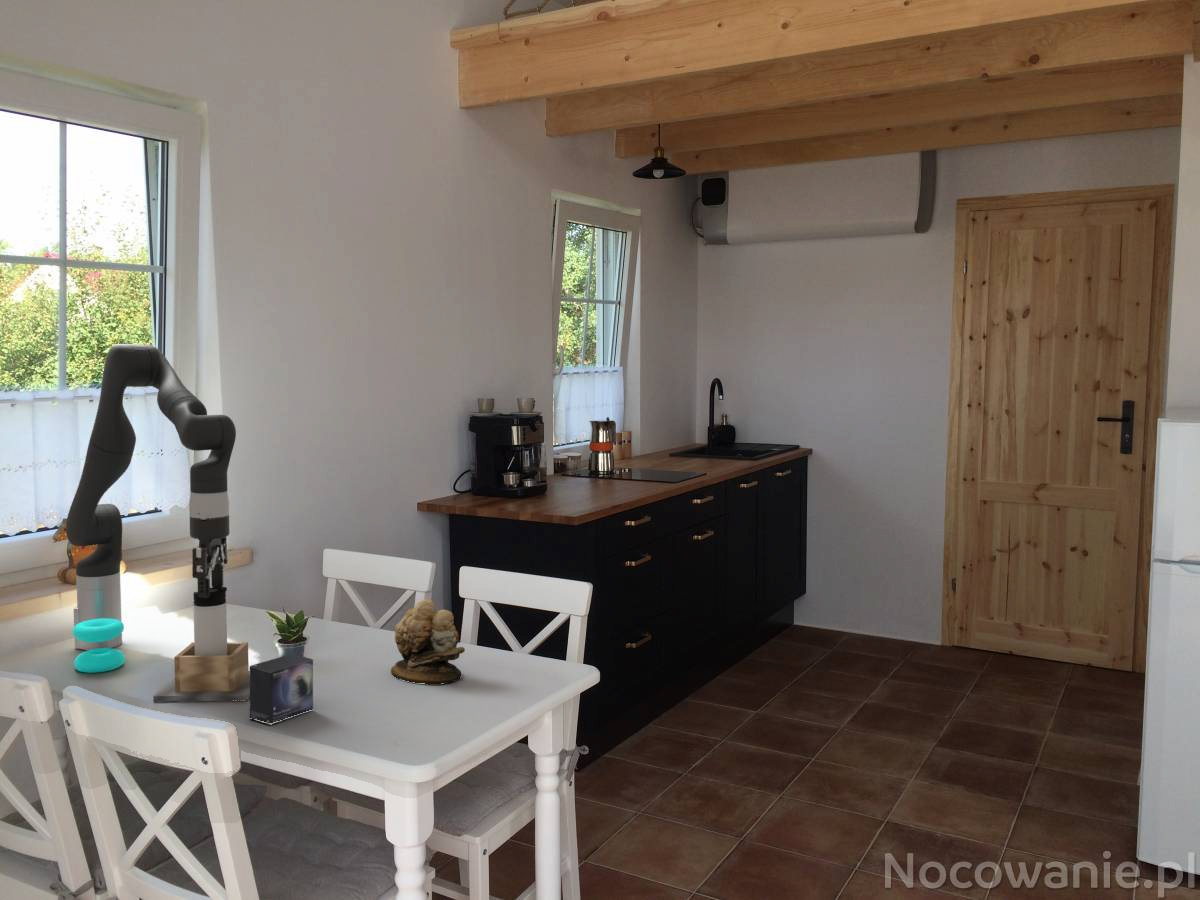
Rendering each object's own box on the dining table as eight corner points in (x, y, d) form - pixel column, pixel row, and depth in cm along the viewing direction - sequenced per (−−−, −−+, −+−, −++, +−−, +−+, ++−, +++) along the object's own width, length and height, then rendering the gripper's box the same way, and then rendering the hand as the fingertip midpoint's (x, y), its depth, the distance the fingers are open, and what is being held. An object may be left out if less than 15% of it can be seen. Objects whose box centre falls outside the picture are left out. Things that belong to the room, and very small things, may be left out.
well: (153, 702, 200) (152, 661, 200) (181, 676, 216) (181, 638, 216) (246, 701, 201) (245, 660, 201) (267, 676, 217) (267, 638, 217)
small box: (271, 727, 188) (270, 671, 187) (248, 720, 191) (246, 665, 190) (315, 710, 197) (314, 657, 196) (292, 704, 200) (291, 652, 199)
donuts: (86, 616, 226) (131, 617, 226) (88, 660, 227) (133, 660, 227) (63, 628, 216) (110, 628, 216) (65, 674, 217) (112, 674, 217)
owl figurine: (478, 675, 220) (478, 598, 219) (445, 691, 210) (445, 610, 208) (412, 662, 229) (411, 587, 227) (377, 676, 218) (376, 599, 217)
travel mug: (218, 688, 205) (216, 591, 203) (189, 686, 206) (186, 589, 204) (235, 679, 211) (233, 584, 209) (206, 677, 212) (204, 583, 211)
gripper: (202, 508, 212) (203, 584, 214) (178, 519, 198) (179, 600, 200) (238, 508, 213) (239, 584, 214) (217, 519, 199) (218, 600, 200)
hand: (210, 592), depth 207 cm, fingers open, 8 cm apart
